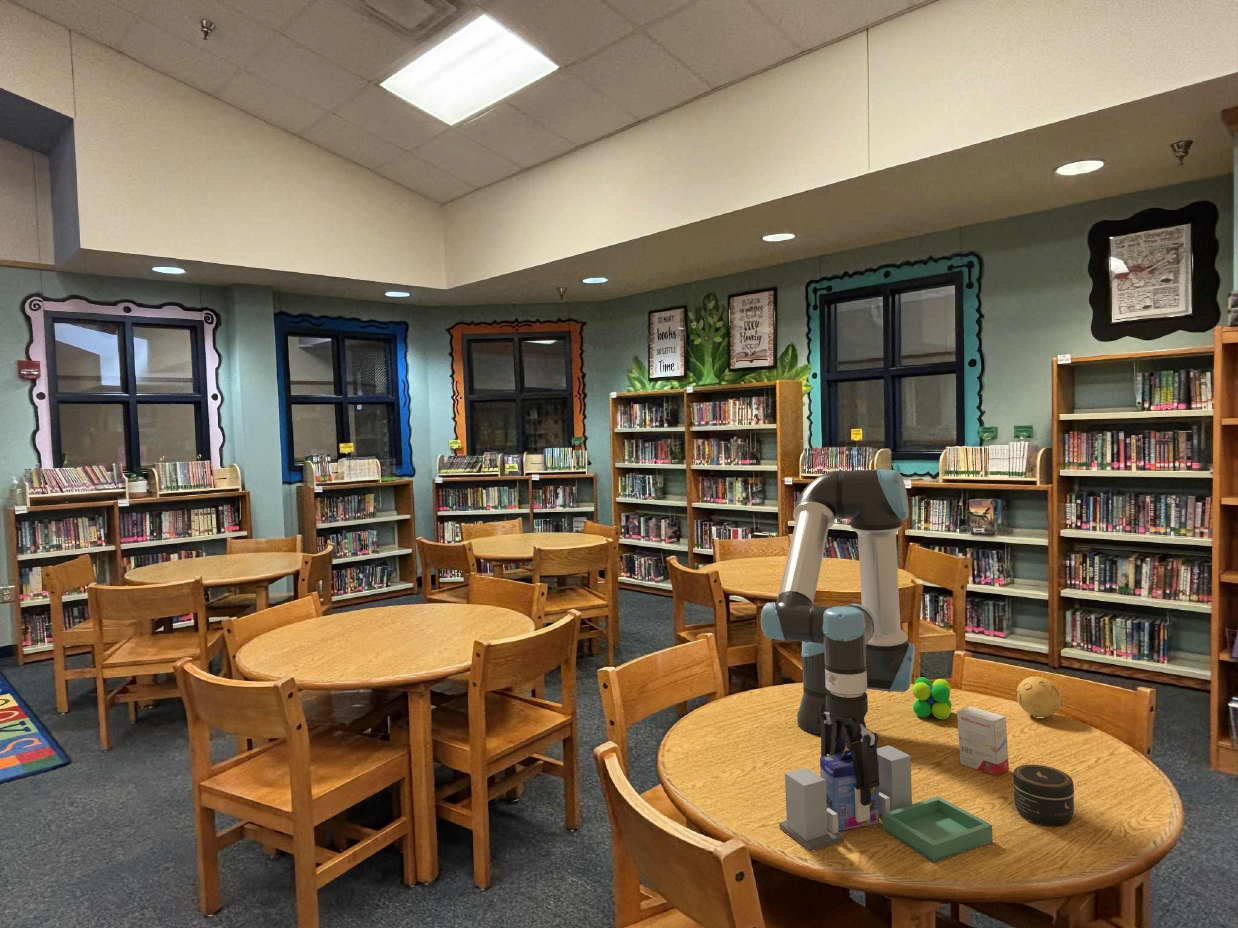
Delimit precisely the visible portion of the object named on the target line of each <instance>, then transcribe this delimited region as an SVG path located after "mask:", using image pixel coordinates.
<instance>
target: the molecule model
mask: <svg viewBox="0 0 1238 928" xmlns="http://www.w3.org/2000/svg"><path fill="white" fill-rule="evenodd" d="M951 691H952V687H951V684H950V683H949V682H948V680H945V679H943V678H938V679H935V680H934V682H933V683H932V682H931V680H930V679H929V678H927V677H922V676H921V677H918V678H917V679H916V680H915V681H914V683H913V686H912V694H913V696H914V697H915V698H914V703H913V707H912V708H913V712H914V713H915V715H917V716H918V717H919V718H927V717H929V716H930V715H931V714H932V715H933V716H934V717H935V719H938V720H940V721H941V720H943V721H944V720H947V719H948V718H950V715H951V710H952V702H951V700H950V698H951V696H950V695H951Z"/></svg>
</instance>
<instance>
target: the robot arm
mask: <svg viewBox="0 0 1238 928" xmlns="http://www.w3.org/2000/svg"><path fill="white" fill-rule="evenodd" d="M904 481H905V480H904V478H903V476H902V474H901V473H900V472H899V471H898V470H893V469H881V468H879V469H877V468H876V469H875V468H874V469H857V470H841V469H840V470H832V471H828V472H825V473H823V474H821V475H819V476H818V477H816V478H814V480H812V481H811V482H810V483H809V484H807V486H806V487H805V488H804V489H803V491H802V492H801V493H800V495H799V496H798V498H797V500H796V503H795V505H794V509H793V515H792V517H793V520H794V521H795V523H794V527H793V532H792V536H791V540H790V544H789V549H788V553H787V558H786V561H785V565H784V569H783V574H782V577H781V581H780V585H779V590H778V593H777V594H778V595H777V598H776V602H775V601H772V602H766V603H764V605H763V607H762V609H761V613H760V614H761V615H760V627H761V628H760V629H761V631H762V634H763V636H765V638H767V639H772V640H778V641H783V642H786V641H788V642H801V653H800V656H801V663H802V664H801V666H802V670H801V671H802V689H803V693H802V697H801V700H800V705H799V709H798V711H797V715H796V716H797V717H796V719H797V720H796V721H797V725H798V727H799V726H800V727H799V728H800V729H802V730H804V731H806V732H807V733H810V734H811V733H812V734H814V735H820V758H821V757H825V756H830V755H834V754H843V753H844V751H845V750H846V747H847V750H850V752H851V757H852V761H853V766H854V770H855V775H856V779H857V784H858V785H856V786H854V787H855V815H856V821H857V822H858V823H859V822H862V821H865V820H868V819H870V806H869V804H871V788H874V787H877V786H879V784H880V783H879V770H878V757H877V748H878V747H877V746H878V741H879V735H878V733H877V732H871V731H870V730H868V728H867V724H866V721H865V717H866V715H867V714H868V711H869V703H868V702H869V701H868V693H867V691H868V690H873V691H880V692H881V691H882V692H888V693H891V692H895V693H905V692H907V691H908V690H909V689H910V687H911V682H912V679H913V672H914V670H913V669H914V664H915V663H914V662H915V654H916V653H915V652H916V650H915V649H916V647H915V644H914V643H911V642H909V640H908V635H907V633H905V632H904V630H902V629H901V613H900V594H899V593H900V590H899V574H898V573H899V572H898V568H899V567H898V554H897V552H898V549H897V532H898V531H900V530H901V529H902V527H903V521H905V520H907V519H908V518H909V514H910V509H909V508H910V507H909V499H908V498H909V497H908V494H907V488H906V485H905V482H904ZM839 519H841V520H842V519H843V520H850V528H851V529H852V530H853V531H855V532H856V534H857V542H858V558H859V559H858V560H859V577H860V578H859V579H860V596H861V599H860V601H861V604H859V603H851V604H848V605H845V606H843V605H842V606H840V605H838V606H830V605H825V606H824V605H814V603H815V597H816V591H817V586H818V583H819V576H820V571H821V566H822V563H823V557H824V551H825V546H826V541H827V538H828V533H829V529H831V528H832V526H834V523H835V520H839Z"/></svg>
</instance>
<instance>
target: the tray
mask: <svg viewBox="0 0 1238 928" xmlns="http://www.w3.org/2000/svg"><path fill="white" fill-rule="evenodd" d="M881 823H882V824H881V826H882V827H881V829H882V831H883V832H885V833H886V834H888V835H889V836H891V837H893V838H894V839H895V840H897V841H899V842H900V843H902V844H904V845H905V846H907V847H908V848H910V849H911V850H912V851H914V852H916V853H917V854H919V855H920V856H923V857H924V858H925V859H927V860H929V861H930V862H931V863H933V864H936V863H938V862H940V861H944V860H947V859H949V858H951V857H956V856H957V855H960V854H961V855H962V854H964V853H966V852H969V851H971V850H974V849H977V848H980V847H982V846H986V845H988V844H990V843H993V840H994V839H993V837H994V836H993V824H991V823H989V822H987V821H985V820H983V819H981V818H980V817H978V816H976V815H974V814H973V813H970V812H968V811H967V810H965V809H964V808H963V809H962V808H961V807H959V806H957V805H955V804H954V803H951V802H949V801H948V800H946V799H944V798H942V797H941V796H935V797H932V798H928V799H925V800H922V801H919V802H916V803H912V805H909V806H906V807H903V808H899V809H896V810H893V811H890V812H887V813H884V814H882V819H881Z"/></svg>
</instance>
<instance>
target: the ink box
mask: <svg viewBox="0 0 1238 928" xmlns="http://www.w3.org/2000/svg"><path fill="white" fill-rule="evenodd" d="M956 714H957V715H956V716H957V730H958V746H959V762H960V765H963V766H966V767H969V768H972V769H975V770H977V771H981V772H984V773H987V774H991V775H993V776H995V777H999V776H1002V775H1004V774H1005V773H1006V772H1007V771H1009V770H1010V767H1009V766H1010V765H1009V753H1008V752H1009V749H1008V732H1007V730H1008V729H1007V717H1006V716H1005V715H1001V714H998V713H994V712H990V711H987V710H985V709H980V708H977V707H974V706H967V707H965V708H962V709H960V710H957V711H956Z"/></svg>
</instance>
